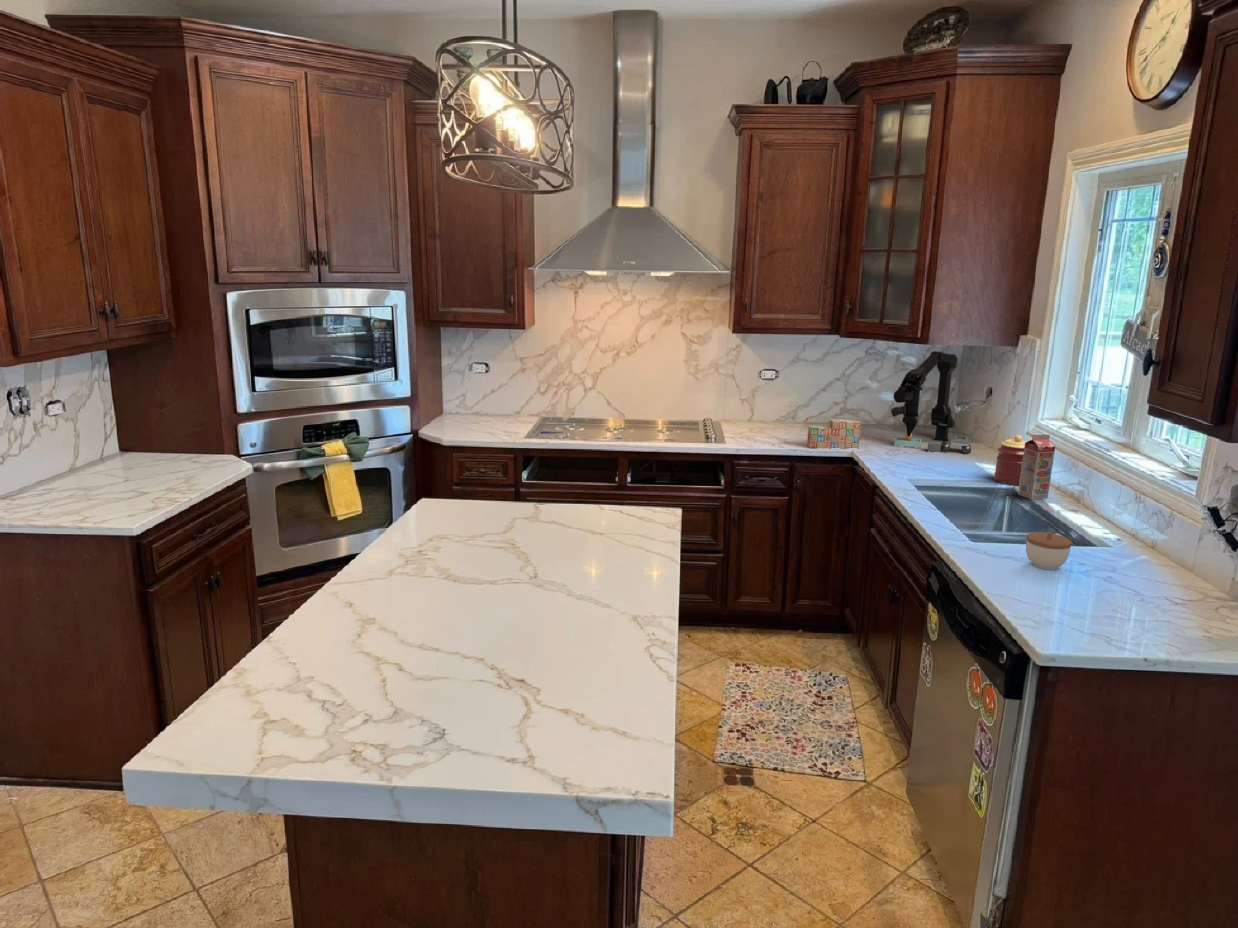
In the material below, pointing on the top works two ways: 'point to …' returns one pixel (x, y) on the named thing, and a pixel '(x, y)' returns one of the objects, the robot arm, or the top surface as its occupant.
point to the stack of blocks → (835, 434)
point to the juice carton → (1036, 467)
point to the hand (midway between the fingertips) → (908, 435)
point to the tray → (907, 442)
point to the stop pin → (908, 437)
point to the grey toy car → (957, 441)
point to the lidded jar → (1047, 550)
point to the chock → (934, 447)
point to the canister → (1010, 461)
